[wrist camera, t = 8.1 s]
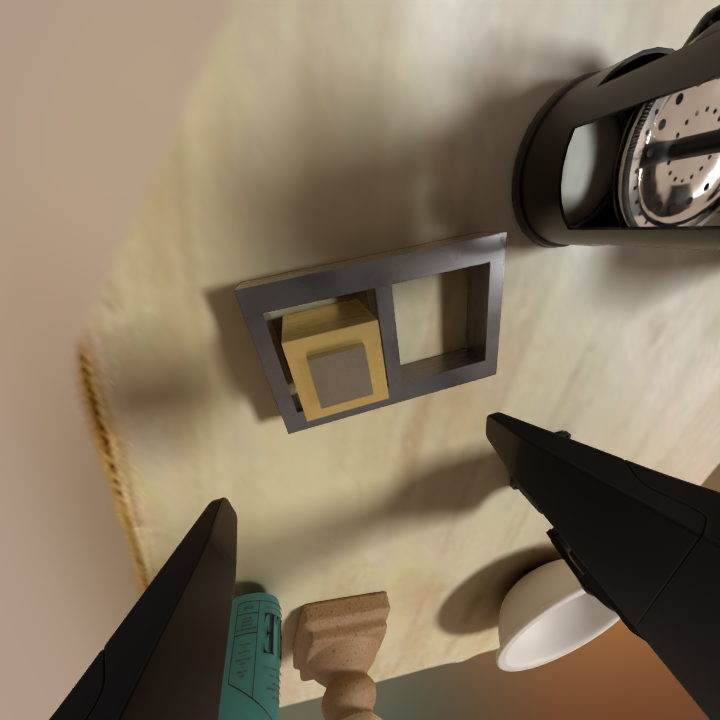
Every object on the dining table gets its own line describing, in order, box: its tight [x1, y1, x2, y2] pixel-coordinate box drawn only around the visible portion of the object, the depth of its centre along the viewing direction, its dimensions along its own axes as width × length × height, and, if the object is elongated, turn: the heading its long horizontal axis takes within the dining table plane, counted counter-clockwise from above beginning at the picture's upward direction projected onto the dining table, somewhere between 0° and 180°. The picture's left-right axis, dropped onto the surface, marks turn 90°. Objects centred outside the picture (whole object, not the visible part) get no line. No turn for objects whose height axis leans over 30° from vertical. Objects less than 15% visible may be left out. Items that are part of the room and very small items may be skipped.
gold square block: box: [281, 299, 389, 421], centre depth 17 cm, size 5×5×6 cm
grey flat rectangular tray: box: [234, 232, 507, 434], centre depth 19 cm, size 16×10×2 cm, turn 100°
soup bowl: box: [496, 559, 620, 671], centre depth 42 cm, size 24×24×7 cm
